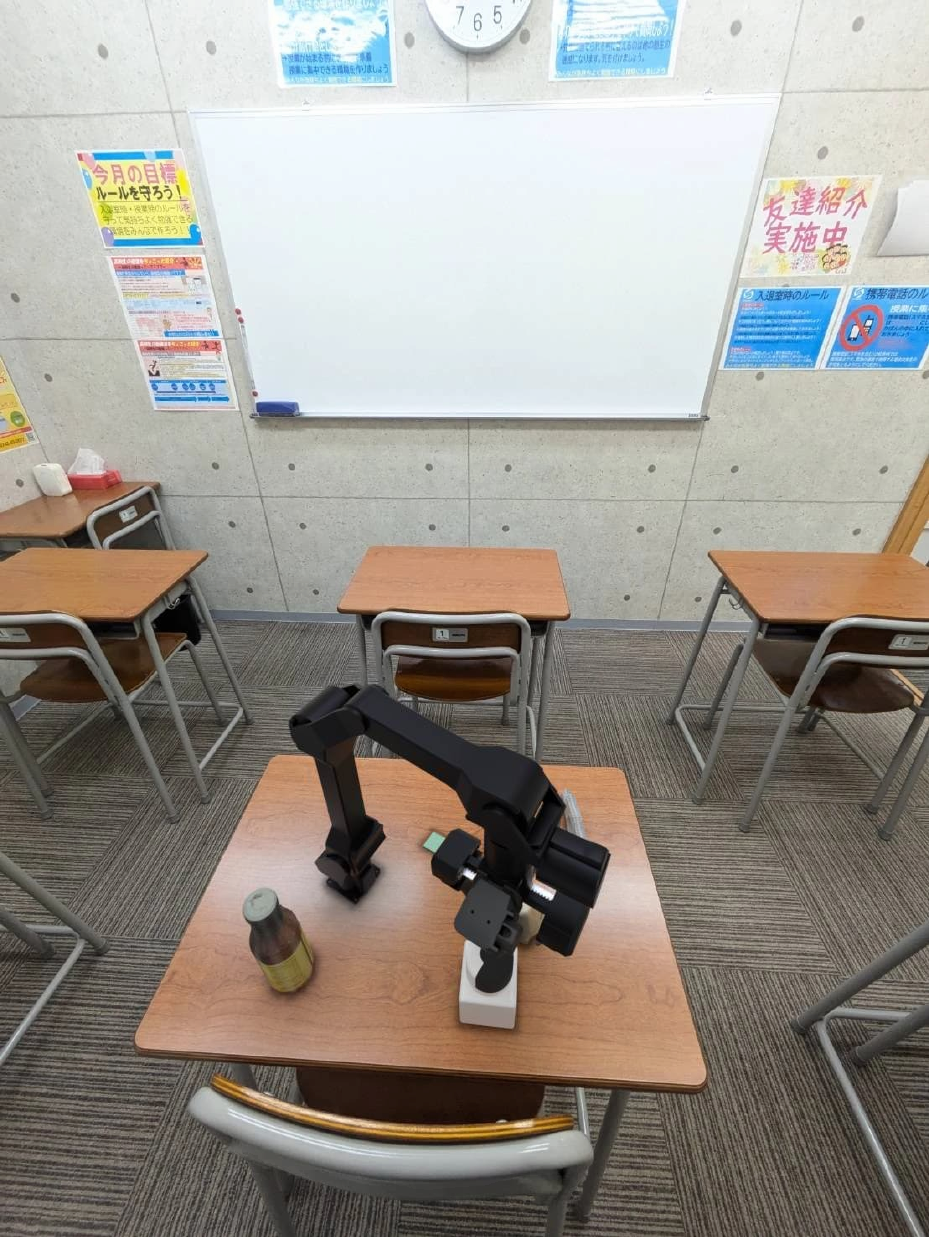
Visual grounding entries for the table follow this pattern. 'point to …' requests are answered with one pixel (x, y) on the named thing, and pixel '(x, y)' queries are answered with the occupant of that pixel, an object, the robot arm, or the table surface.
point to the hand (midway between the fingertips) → (505, 921)
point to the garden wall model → (573, 814)
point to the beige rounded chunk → (529, 923)
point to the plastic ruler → (434, 842)
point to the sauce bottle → (278, 942)
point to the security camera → (488, 988)
